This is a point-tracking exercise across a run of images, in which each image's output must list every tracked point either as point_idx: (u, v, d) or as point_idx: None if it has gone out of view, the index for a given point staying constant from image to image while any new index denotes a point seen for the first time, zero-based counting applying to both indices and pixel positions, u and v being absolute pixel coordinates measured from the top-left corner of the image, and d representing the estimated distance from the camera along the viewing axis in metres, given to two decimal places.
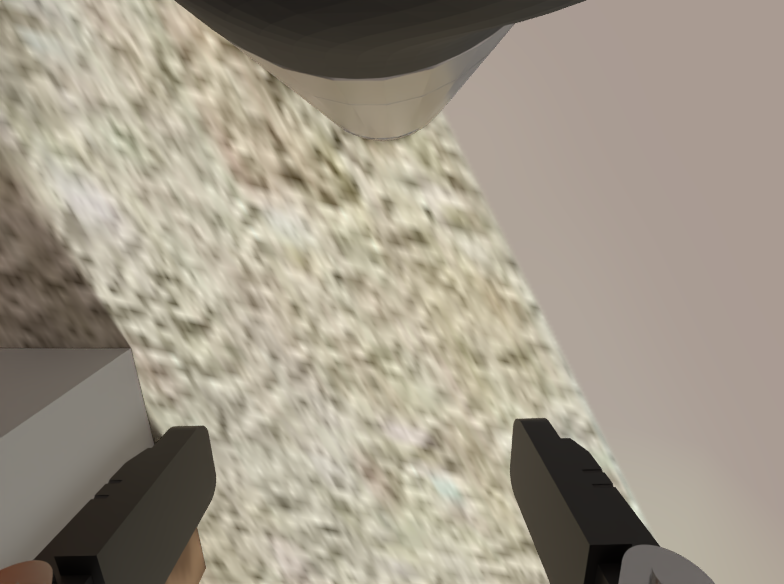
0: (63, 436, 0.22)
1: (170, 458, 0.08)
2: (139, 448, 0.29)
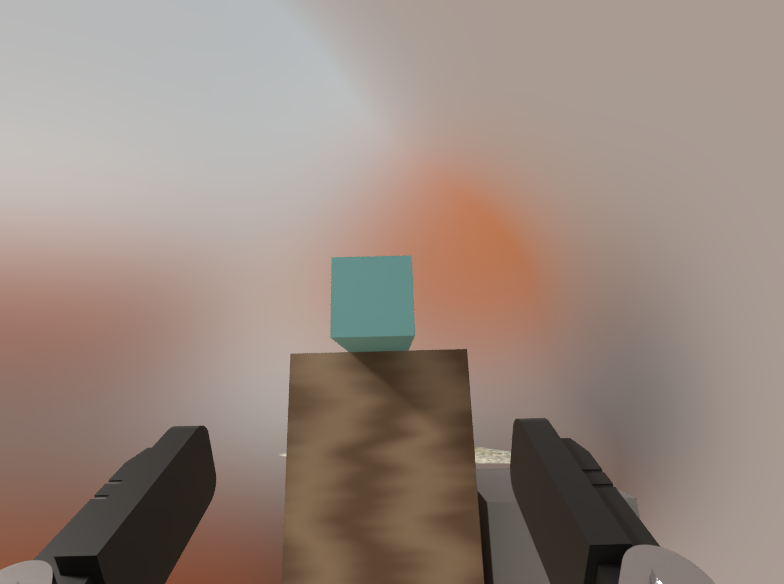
0: None
1: (170, 458, 0.08)
2: None
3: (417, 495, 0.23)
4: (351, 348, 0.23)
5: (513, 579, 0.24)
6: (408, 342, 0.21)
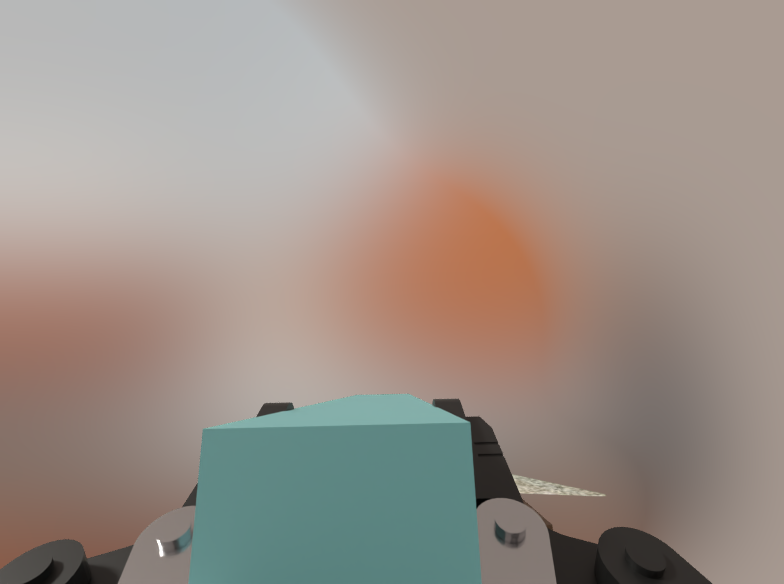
0: None
1: None
2: None
3: None
4: None
5: None
6: None
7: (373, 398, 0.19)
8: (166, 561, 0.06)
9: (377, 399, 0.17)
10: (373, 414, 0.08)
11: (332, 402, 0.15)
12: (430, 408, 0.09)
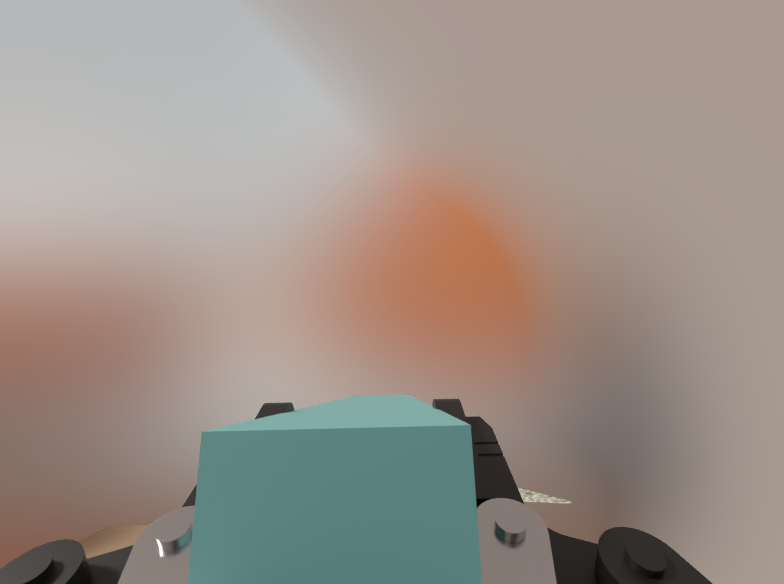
0: None
1: None
2: None
3: None
4: None
5: None
6: None
7: (373, 399, 0.19)
8: (166, 561, 0.06)
9: (377, 400, 0.17)
10: (373, 416, 0.08)
11: (332, 403, 0.15)
12: (430, 410, 0.09)
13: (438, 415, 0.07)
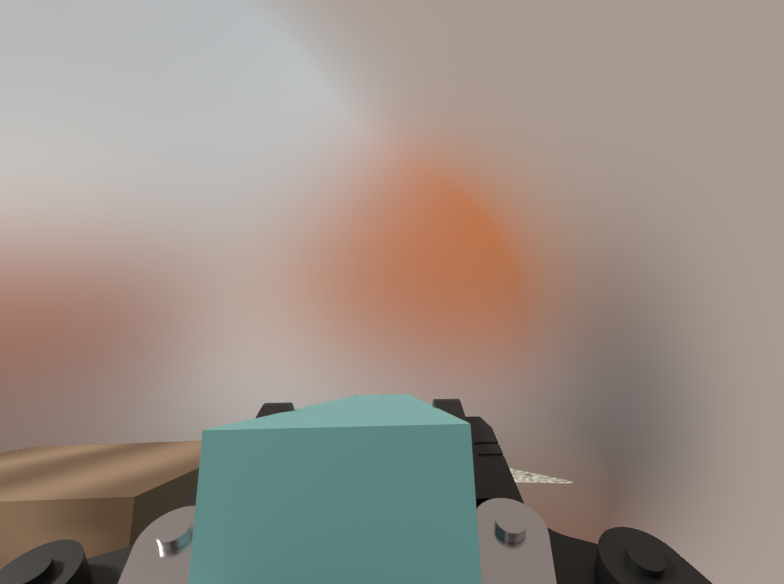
0: None
1: None
2: None
3: None
4: None
5: None
6: None
7: None
8: (166, 561, 0.06)
9: None
10: (373, 415, 0.08)
11: None
12: (430, 409, 0.09)
13: (438, 414, 0.08)
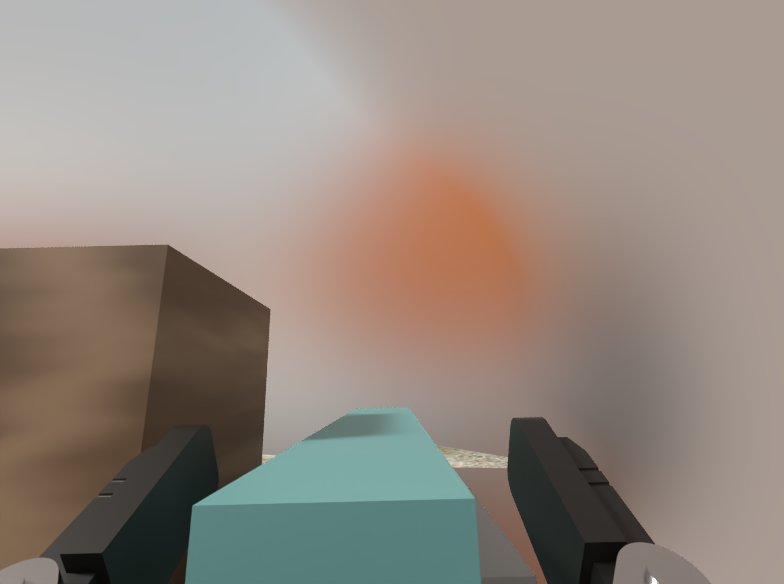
0: None
1: (174, 457, 0.08)
2: None
3: None
4: None
5: None
6: None
7: (372, 419, 0.19)
8: None
9: (377, 422, 0.17)
10: (372, 468, 0.07)
11: (331, 429, 0.15)
12: (431, 452, 0.09)
13: (440, 469, 0.07)
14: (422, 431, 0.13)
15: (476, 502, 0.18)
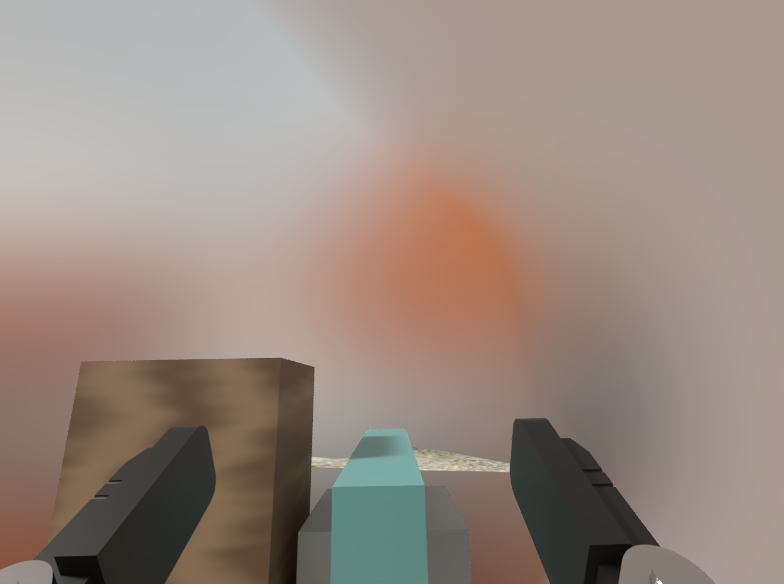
0: None
1: (170, 458, 0.08)
2: None
3: (202, 526, 0.20)
4: None
5: None
6: None
7: (382, 442, 0.30)
8: None
9: (385, 445, 0.28)
10: (388, 474, 0.18)
11: (360, 451, 0.26)
12: (414, 467, 0.20)
13: (416, 475, 0.18)
14: (412, 453, 0.24)
15: (447, 494, 0.29)
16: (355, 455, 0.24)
